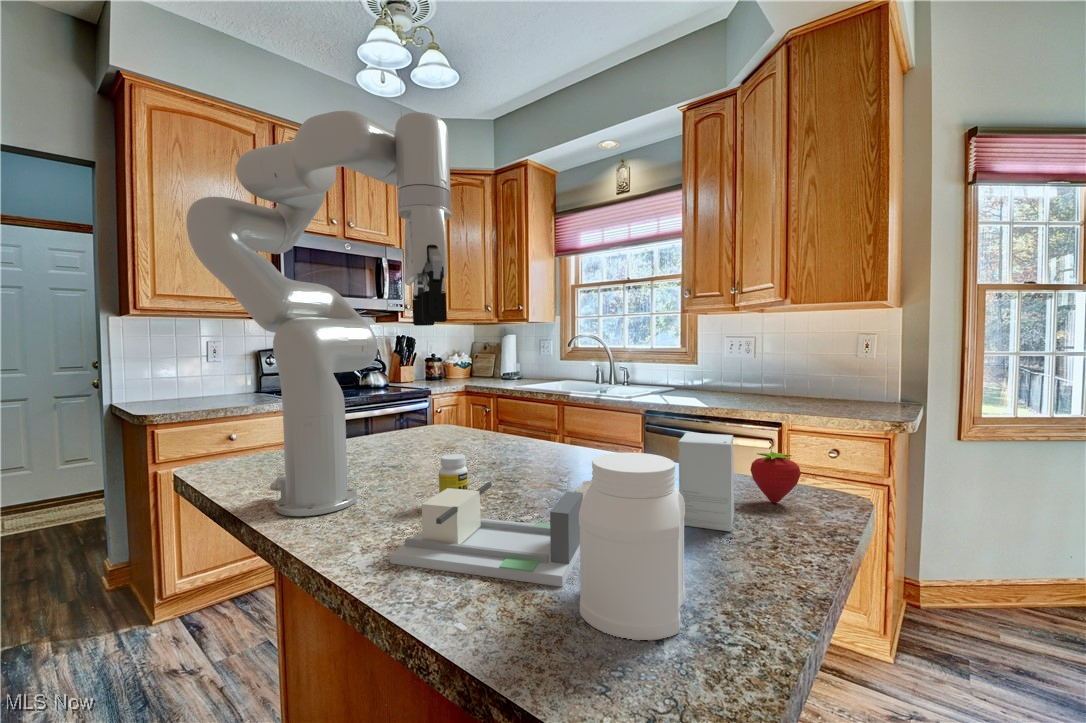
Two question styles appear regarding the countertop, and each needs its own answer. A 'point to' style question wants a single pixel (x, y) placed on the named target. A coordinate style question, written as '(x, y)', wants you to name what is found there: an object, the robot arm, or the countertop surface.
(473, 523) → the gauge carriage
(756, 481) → the strawberry
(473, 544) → the board
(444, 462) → the supplement bottle
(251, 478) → the countertop surface
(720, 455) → the supplement box
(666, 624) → the jar
